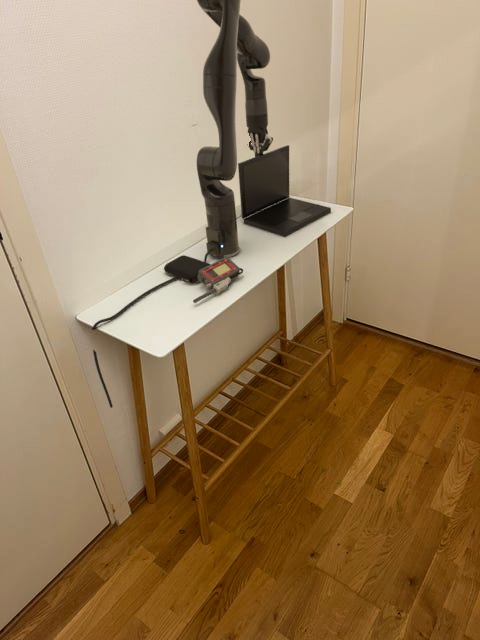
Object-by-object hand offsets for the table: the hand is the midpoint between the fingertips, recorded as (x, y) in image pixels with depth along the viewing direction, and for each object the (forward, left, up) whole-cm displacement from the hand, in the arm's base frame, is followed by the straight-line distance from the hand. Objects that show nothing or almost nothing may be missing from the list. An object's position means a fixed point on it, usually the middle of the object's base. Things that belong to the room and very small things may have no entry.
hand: (259, 162), depth 164 cm
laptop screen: (0, -3, -6) cm, 7 cm away
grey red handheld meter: (-51, -29, -14) cm, 60 cm away
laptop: (0, -13, -18) cm, 22 cm away
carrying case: (-50, -16, -18) cm, 56 cm away
